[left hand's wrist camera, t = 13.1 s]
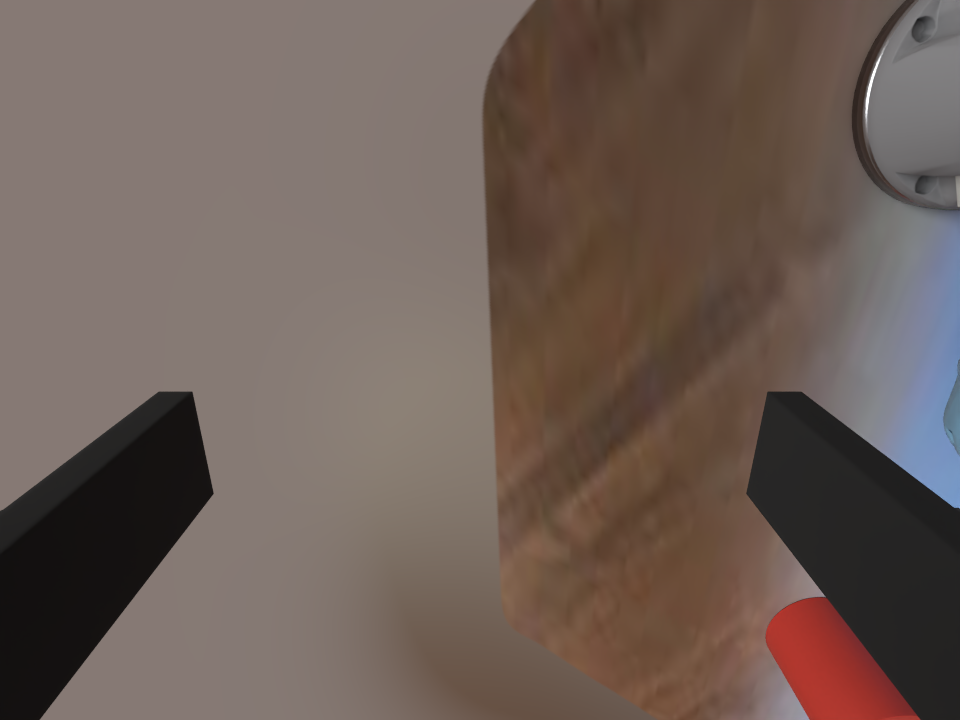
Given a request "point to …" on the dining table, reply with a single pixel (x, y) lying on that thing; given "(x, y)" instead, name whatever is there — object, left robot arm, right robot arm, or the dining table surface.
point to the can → (831, 666)
